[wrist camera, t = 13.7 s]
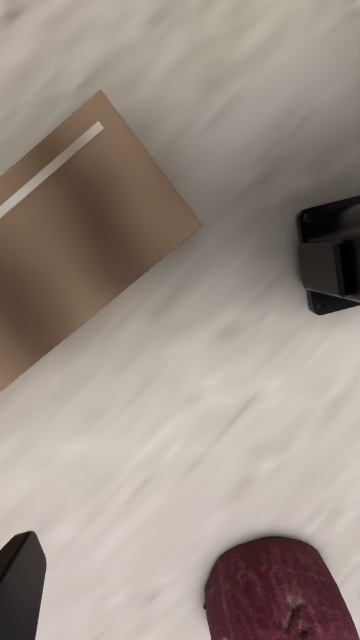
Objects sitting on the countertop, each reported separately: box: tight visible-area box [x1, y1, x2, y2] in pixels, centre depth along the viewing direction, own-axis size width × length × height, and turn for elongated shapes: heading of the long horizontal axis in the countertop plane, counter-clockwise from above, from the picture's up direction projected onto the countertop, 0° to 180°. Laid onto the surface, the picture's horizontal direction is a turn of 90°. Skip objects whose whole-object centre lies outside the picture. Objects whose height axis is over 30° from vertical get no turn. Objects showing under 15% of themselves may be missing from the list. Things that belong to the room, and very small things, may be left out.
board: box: [0, 90, 202, 392], centre depth 18 cm, size 20×8×2 cm, turn 128°
